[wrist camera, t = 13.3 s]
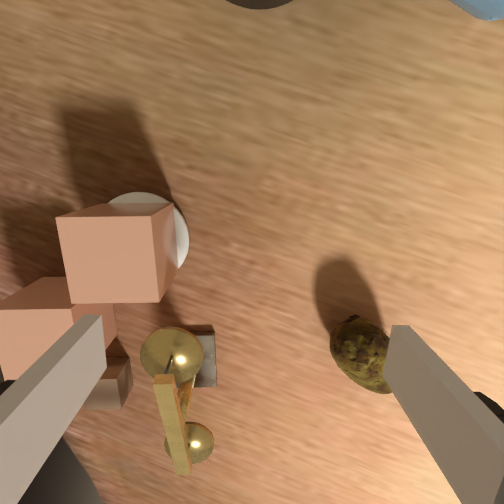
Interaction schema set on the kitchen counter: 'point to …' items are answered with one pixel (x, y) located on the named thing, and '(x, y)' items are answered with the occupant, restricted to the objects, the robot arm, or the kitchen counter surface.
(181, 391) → the balance
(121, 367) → the gray metal block
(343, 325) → the potato
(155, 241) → the peach pink cube
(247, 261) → the kitchen counter surface
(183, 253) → the dish
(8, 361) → the tan cardboard-like box
